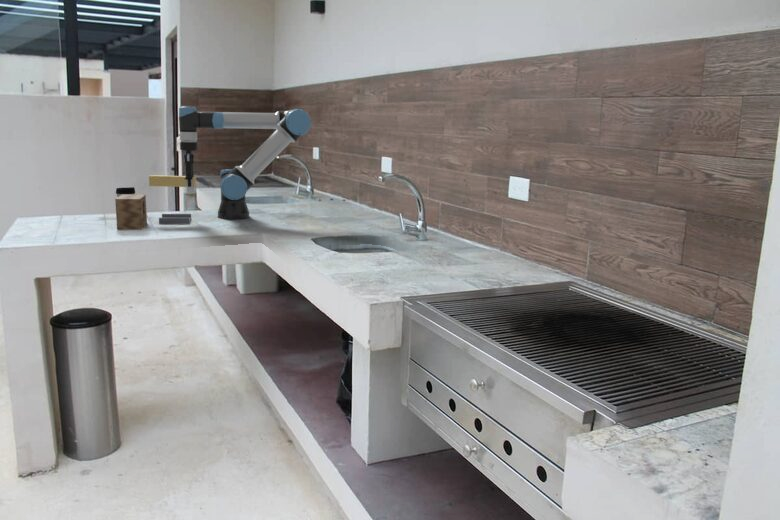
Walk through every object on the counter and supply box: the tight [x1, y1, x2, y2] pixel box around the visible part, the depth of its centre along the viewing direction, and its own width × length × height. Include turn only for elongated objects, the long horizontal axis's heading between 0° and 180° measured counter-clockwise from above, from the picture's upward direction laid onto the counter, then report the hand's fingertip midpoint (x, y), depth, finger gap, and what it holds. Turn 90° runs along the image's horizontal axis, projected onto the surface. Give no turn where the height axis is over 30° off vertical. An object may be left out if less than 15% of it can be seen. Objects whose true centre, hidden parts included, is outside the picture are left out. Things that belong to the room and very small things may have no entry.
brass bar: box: [148, 174, 197, 188], centre depth 297 cm, size 20×4×4 cm, turn 103°
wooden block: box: [114, 193, 148, 230], centre depth 284 cm, size 10×16×13 cm, turn 13°
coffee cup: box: [115, 186, 136, 198], centre depth 300 cm, size 8×8×15 cm
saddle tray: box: [158, 213, 192, 225], centre depth 300 cm, size 13×13×3 cm
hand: (190, 192), depth 299 cm, fingers closed on brass bar, 4 cm apart
